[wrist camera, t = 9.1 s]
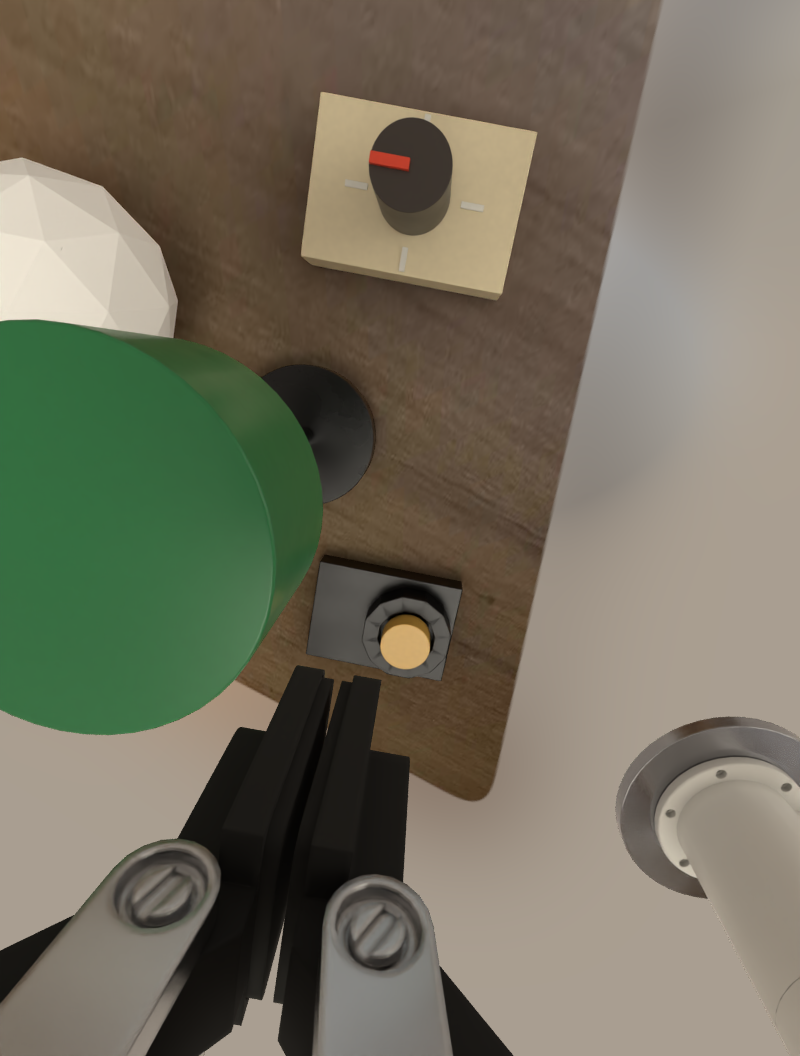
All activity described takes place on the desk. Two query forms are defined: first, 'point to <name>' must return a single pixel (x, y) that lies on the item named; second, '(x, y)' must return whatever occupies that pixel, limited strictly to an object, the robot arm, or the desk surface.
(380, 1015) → the robot arm
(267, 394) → the desk lamp
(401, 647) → the button
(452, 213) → the dimmer panel
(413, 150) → the dimmer knob
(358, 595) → the button base
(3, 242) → the geodesic sphere
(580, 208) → the desk surface
